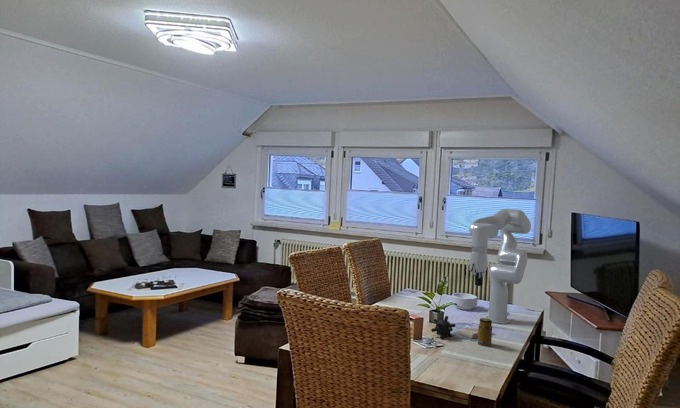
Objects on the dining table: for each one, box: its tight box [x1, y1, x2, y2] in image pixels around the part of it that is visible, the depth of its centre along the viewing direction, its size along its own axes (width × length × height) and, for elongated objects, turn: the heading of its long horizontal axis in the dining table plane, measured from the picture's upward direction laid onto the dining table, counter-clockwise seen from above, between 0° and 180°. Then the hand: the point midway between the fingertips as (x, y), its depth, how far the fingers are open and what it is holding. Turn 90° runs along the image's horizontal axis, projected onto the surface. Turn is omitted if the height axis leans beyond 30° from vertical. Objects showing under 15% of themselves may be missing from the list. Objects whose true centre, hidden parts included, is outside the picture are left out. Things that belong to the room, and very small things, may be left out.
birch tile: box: [457, 326, 478, 338], centre depth 225 cm, size 2×8×10 cm
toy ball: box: [431, 315, 457, 340], centre depth 221 cm, size 11×11×12 cm
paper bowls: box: [451, 292, 478, 311], centre depth 281 cm, size 15×15×8 cm
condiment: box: [477, 317, 493, 347], centre depth 211 cm, size 7×8×12 cm
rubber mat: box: [450, 326, 497, 343], centre depth 227 cm, size 20×14×1 cm
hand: (478, 285), depth 232 cm, fingers closed
